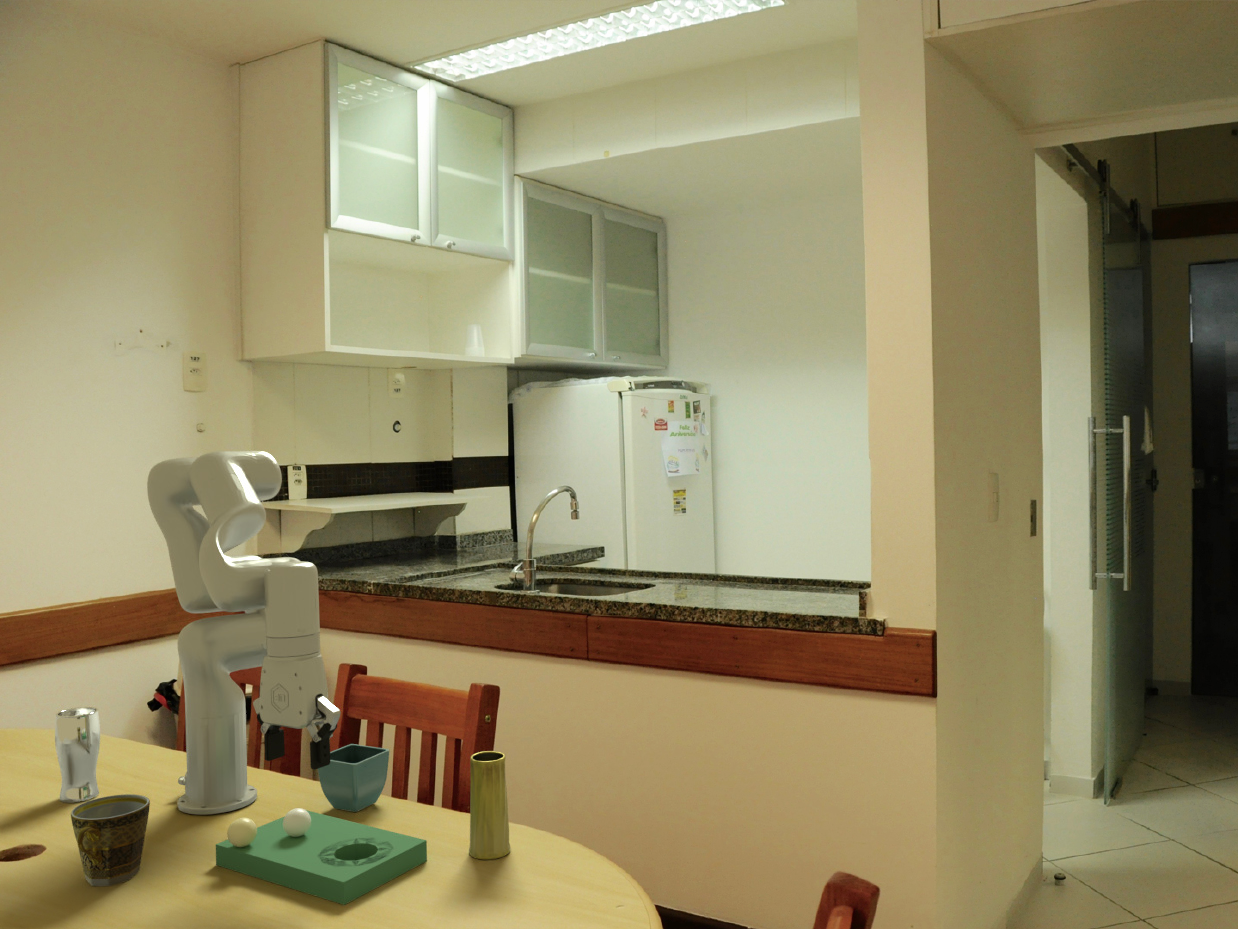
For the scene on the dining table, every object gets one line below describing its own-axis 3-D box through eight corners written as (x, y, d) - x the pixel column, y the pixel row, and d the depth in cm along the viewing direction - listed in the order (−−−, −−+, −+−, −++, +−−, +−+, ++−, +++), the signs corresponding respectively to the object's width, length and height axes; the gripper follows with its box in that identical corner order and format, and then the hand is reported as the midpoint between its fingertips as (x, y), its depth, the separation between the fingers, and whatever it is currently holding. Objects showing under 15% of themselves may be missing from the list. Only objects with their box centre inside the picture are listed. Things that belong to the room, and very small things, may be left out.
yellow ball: (221, 848, 144) (220, 820, 144) (244, 838, 148) (244, 811, 148) (240, 853, 142) (239, 825, 142) (263, 844, 146) (262, 816, 145)
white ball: (277, 838, 148) (276, 811, 148) (298, 829, 151) (298, 802, 151) (295, 843, 146) (295, 815, 146) (317, 834, 149) (316, 807, 149)
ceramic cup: (97, 862, 148) (95, 794, 147) (164, 861, 147) (162, 793, 147) (44, 902, 135) (42, 828, 134) (117, 902, 134) (115, 827, 134)
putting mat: (216, 865, 146) (215, 844, 146) (302, 828, 159) (302, 809, 159) (344, 905, 132) (343, 882, 132) (426, 861, 146) (426, 840, 146)
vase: (477, 863, 145) (475, 765, 144) (463, 848, 150) (461, 754, 150) (516, 855, 148) (514, 758, 147) (501, 840, 153) (499, 747, 153)
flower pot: (315, 811, 167) (314, 757, 167) (352, 794, 175) (351, 743, 175) (355, 819, 163) (354, 764, 163) (392, 802, 171) (390, 749, 170)
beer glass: (110, 794, 176) (107, 709, 176) (70, 807, 171) (68, 719, 170) (87, 787, 180) (85, 704, 180) (48, 799, 174) (46, 713, 174)
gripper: (233, 646, 149) (237, 762, 149) (314, 655, 140) (319, 778, 140) (274, 638, 155) (278, 749, 155) (354, 645, 146) (358, 763, 146)
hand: (297, 762), depth 148 cm, fingers open, 9 cm apart
